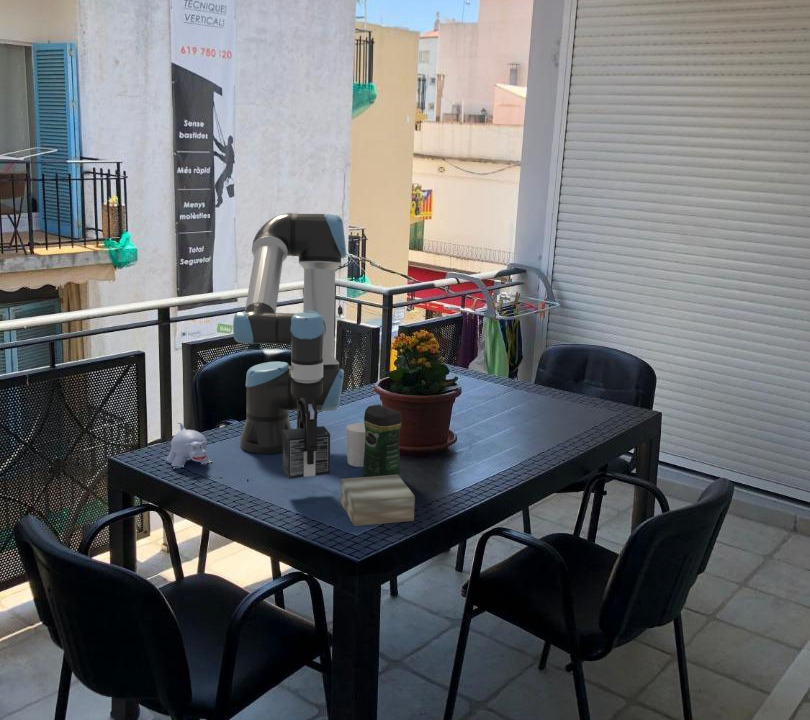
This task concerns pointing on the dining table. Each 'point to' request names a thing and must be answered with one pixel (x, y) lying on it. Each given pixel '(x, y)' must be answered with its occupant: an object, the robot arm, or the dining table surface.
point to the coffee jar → (381, 441)
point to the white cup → (355, 444)
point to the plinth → (377, 500)
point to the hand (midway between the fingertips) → (306, 469)
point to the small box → (295, 456)
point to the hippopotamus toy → (188, 447)
